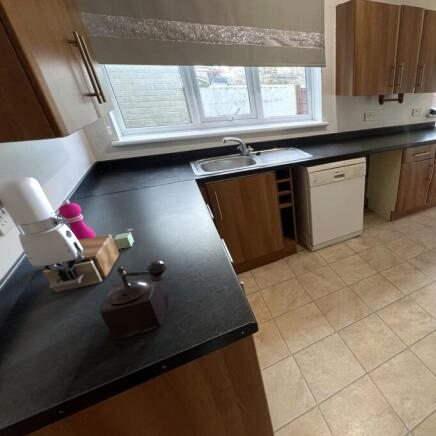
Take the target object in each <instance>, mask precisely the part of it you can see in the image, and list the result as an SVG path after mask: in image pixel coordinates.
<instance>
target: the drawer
mask: <svg viewBox="0 0 436 436" xmlns="http://www.w3.org/2000/svg"><path fill="white" fill-rule="evenodd" d="M73 268H74V270H75V272H76V274H77V278H76V279H74V280H70V281H65V282H64V281H62V280H61V278H60V276H59V275H58V273H54V272H53V271H51V270H48V269H47V270H46V269H44V270H43V272H42V273H43V274H44V276H45V278H46V279H47V281H48V283H49V289H50V290H53V291H54V292H55V293H58V292H63V291H68V290H72V289H76V288H83V287H87V286H91V285H95V284H100V283H102V282H103V277H102V275H101V273H100V270H99V268H98V266H97V264H96V262H95V260H94V258H92V259H86V260H82V261H80V262H77V263H75V264H74V265H73Z"/></svg>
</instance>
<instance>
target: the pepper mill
mask: <svg viewBox="0 0 436 436" xmlns="http://www.w3.org/2000/svg"><path fill="white" fill-rule="evenodd" d="M58 213H59V215H60V217H63V218H64V221H65V222H66V223H67V224H68V225H69V227H70V230H71V231H72V233H73V234H74V235H75V237H76V238H77V240H80V239H86V238H92V237H97V236H96V233H95V232H94V231H93V229H91V228H90V227H88V226H87V225H86V224H85V222H84V220H83V218H84V216H83V214H82V208H81V206H80V205H79V204H77V203H73V202H71V201H70V200H68V199H64V200H62V205H61V206H59V208H58Z"/></svg>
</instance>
